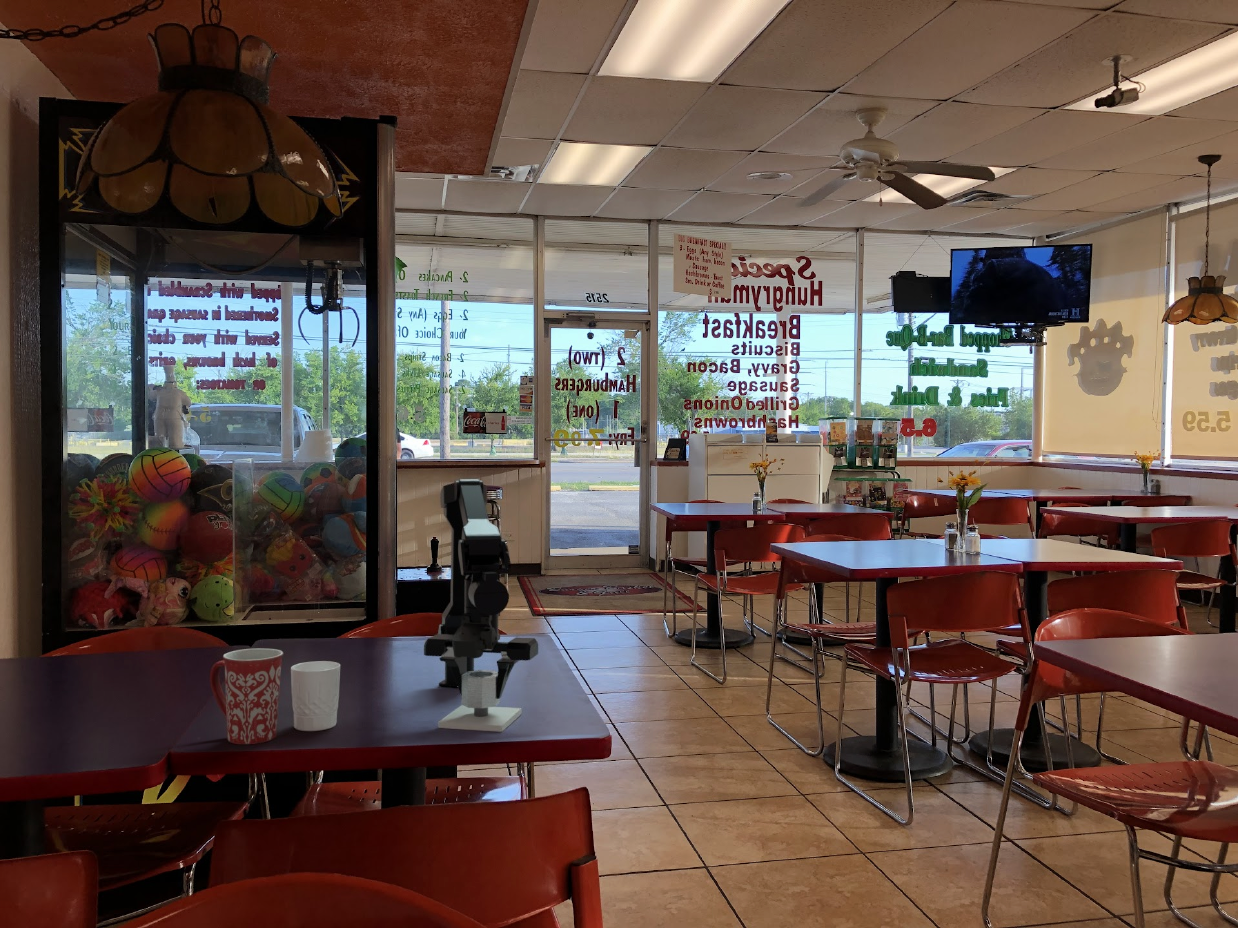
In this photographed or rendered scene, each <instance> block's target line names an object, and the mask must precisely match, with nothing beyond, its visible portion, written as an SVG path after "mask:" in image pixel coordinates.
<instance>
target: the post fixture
mask: <svg viewBox="0 0 1238 928" xmlns="http://www.w3.org/2000/svg"><path fill="white" fill-rule="evenodd" d="M521 715H522V708H521V707H506V706H505V707H504V706H495V707H488V708H468V707H466V706H464V705H462V704H461V705H460V706H459V707H456V708H455V709H454V710H453V711H451V712H450V713H449V714H447V715H446V716H445V717H443V718H442V719H441V720H439V721H438V726H437V727H438V729H448V730H449V729H454V730H465V731H466V730H467V731H469V730H470V731H481V732H482V731H483V732H499V733H502V732H504V730H506V729H507V728H508V727H509V726H511V724H512V723H514V722H515V720H517V719H518V718H519V717H520V716H521Z"/></svg>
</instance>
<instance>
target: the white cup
mask: <svg viewBox="0 0 1238 928" xmlns="http://www.w3.org/2000/svg"><path fill="white" fill-rule="evenodd" d="M340 679H341V664H340V663H339V662H335V661H330V660H328V661H327V660H321V661H320V660H319V661H318V660H317V661H307V662H300V663H297V664H294V665H292V666H291V667H290V683H291V699H292V700H291V701H292V703H291V704H292V705H291V706H292V711H293V727H294V728H295V729H296V730H298V731H301V732H317V731H323V730H328V729H329V730H330V729H332V728H334V727H335V726H336V725H337V722H338V719H337V718H338V717H337V716H338V709H339V700H340V699H339V697H340Z"/></svg>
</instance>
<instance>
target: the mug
mask: <svg viewBox="0 0 1238 928" xmlns="http://www.w3.org/2000/svg"><path fill="white" fill-rule="evenodd" d="M283 656H284V651H282V650H281V649H276V648H263V647H262V648H261V647H260V648H246V649H245V648H244V649H236V650H233V651H229V652H227V653H224V654H223V656H222V659H223V660H219V661H217V662H215V663H214V664H213V665H212V667H211V669H210V677H209V682H210V683H209V684H210V688H211V692H212V694H213V697H214V698H215V701H216V703H217V705H218V708H219V709H220V711H221V712H222V714H223V715H224V717H225V719H226V733H227V735H226V736H227V741H228V742H229V743H231V744H235V745H254V744H255V745H256V744H261V743H265V742H269V741H271V740H274V739H275V738H276V737H277V730H278V715H279V714H278V713H279V701H280V700H279V699H280V687H281V686H280V684H281V671H282V661H283V660H282V658H283ZM222 667H224V681H225V683H224V686H225V694H224V692H223V689H222V686H221V682H220V681H221V680H220V671H221V668H222Z"/></svg>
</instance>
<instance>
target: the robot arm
mask: <svg viewBox="0 0 1238 928" xmlns="http://www.w3.org/2000/svg"><path fill="white" fill-rule="evenodd" d="M487 487H488V486H487V485H486V484H484V482H483V480H480V479H478V478H477V479H476V478H475V479H474V478H473V479H471V478H465V479H463V478H458V480H455V481H454V482H452V483H448V484H446V485H443V486H442V488H441V490H440V500H439V501H440V508H441V509H443V516H444V518H445V520H446V521H447V523H448V525H449V526H450V529H451V539H450V541H451V542H450V543H451V544H450V545H451V547H450V548H451V549H450V551H451V552H450V602H449V603H448V604H447V606H446V608H445V609H444V611H443V612H442V615H441V618H442V619H441V621H442V622H441V624H439V625H438V631H437V632H438V633H437V634H435V635H432V636H430V637H429V638H427V639H426V640H425V641H424V644H423V655H424V656H426V657H439V661H440V662H444V679H443V680H442V681H440V682H438V686H439V687H453V688H454V687H457V688H458V691H459V694H460V696H461V697H462V675H463V674H464V673H466V672H469V671H475V659H479V658H481V657H482V656H483V654H484V653H485V654H486V653H487V654H490V653H491V654H500V656H501V658H500V659H498V660H496V664H497V672H498V678H497V699H500V700H501V698H502V697H503V692H504V690H505V687H506V684H507V682H508V679H509V677H510V674H511V672H512V670H513V668H514V666H515V664H517V663H518V662H520V661H525V662H526V661H530V660H532V659H534V658H535V657H536V656H537V655H539V643H538V640H537V639H536V638H535V637H517V636H516V637H514V638H512V639H511V640H509V641H508V642H507V641H506V642H505V641H499V640H501V633H499V617H500V616H501V613H502V612H504V610H505V609H506V607H507V606H508V604H509V600H510V593H509V591H508V588H507V586H506V585H505V584H504V583H503V582H501V580H500V579H501V578H500V575H509V571H510V570H509V569H511V563H512V562H511V557H510V553H509V552H510V551H509V547H508V546H509V545H508V544H507V543H506V540H505V538H502V535H501V532H500V529H499V527H498V526H496V525H495V524H493V523H491V522H490V520H489V515H488V510H487V507H486V506H487V505H488V488H487ZM500 563H501V564H500Z"/></svg>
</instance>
